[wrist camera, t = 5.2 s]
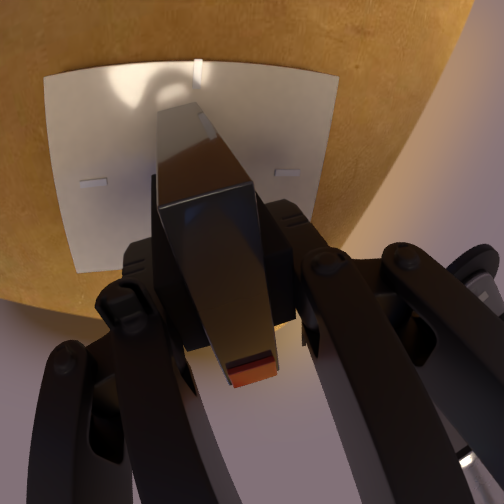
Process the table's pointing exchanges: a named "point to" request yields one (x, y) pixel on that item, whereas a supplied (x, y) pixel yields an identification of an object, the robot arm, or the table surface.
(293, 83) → the plate
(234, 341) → the tap handle
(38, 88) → the table surface
